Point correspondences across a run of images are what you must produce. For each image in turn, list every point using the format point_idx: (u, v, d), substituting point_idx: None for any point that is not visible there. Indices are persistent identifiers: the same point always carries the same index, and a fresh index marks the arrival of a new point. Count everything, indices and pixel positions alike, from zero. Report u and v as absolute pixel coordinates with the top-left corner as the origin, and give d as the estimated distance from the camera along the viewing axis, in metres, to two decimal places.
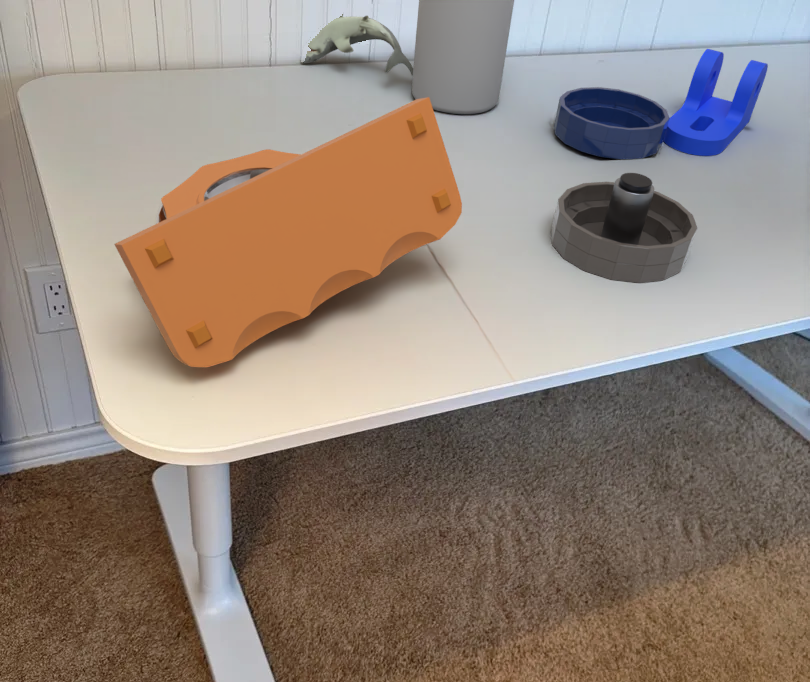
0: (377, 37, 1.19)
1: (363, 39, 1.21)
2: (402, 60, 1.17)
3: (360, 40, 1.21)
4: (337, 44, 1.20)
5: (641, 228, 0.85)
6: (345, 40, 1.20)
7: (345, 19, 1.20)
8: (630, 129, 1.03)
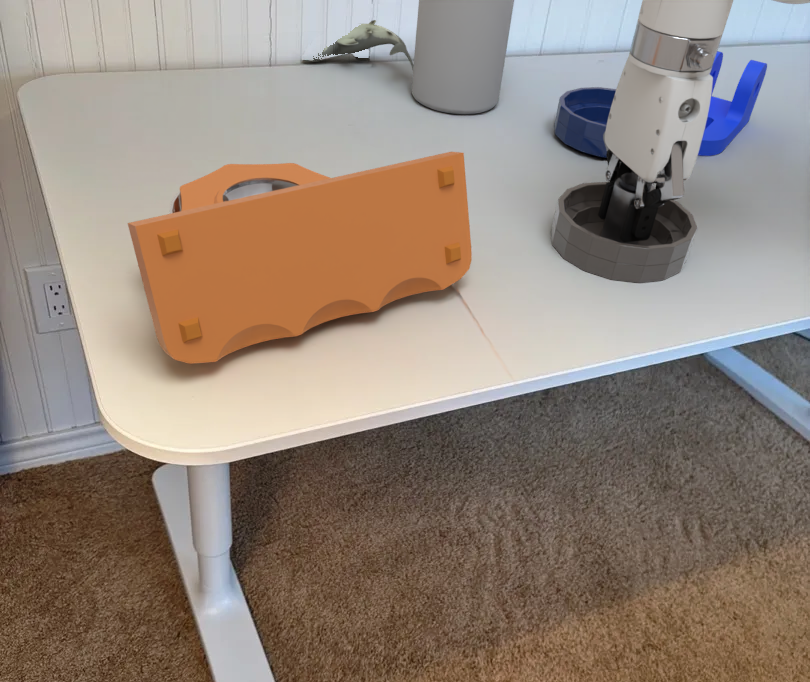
0: (381, 40, 1.22)
1: (367, 45, 1.23)
2: (407, 52, 1.18)
3: (363, 46, 1.23)
4: (341, 41, 1.22)
5: None
6: (350, 39, 1.22)
7: None
8: None
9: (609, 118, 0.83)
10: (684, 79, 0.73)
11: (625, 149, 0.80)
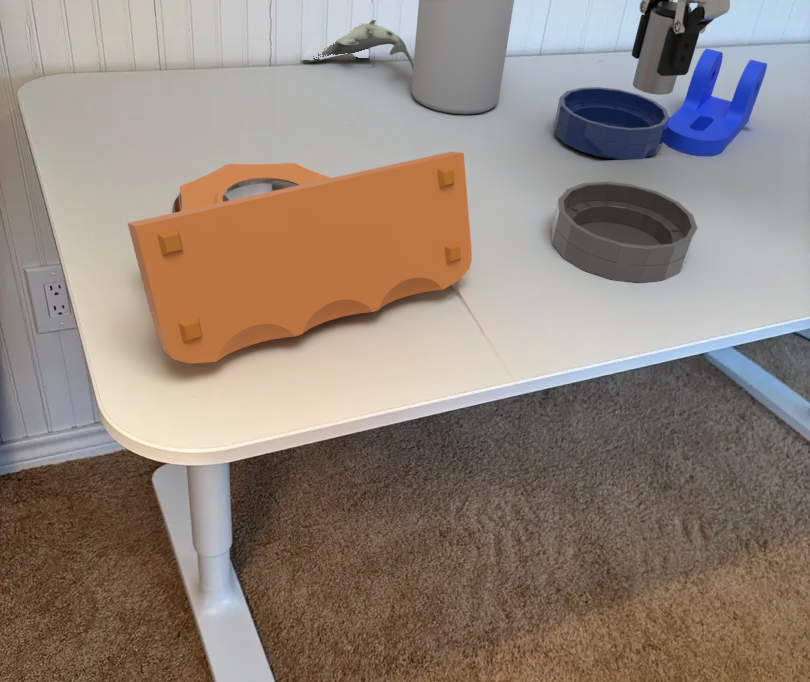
0: (381, 40, 1.22)
1: (367, 45, 1.23)
2: (407, 52, 1.18)
3: (363, 46, 1.23)
4: (341, 41, 1.22)
5: None
6: (350, 39, 1.22)
7: None
8: (630, 129, 1.03)
9: None
10: None
11: None
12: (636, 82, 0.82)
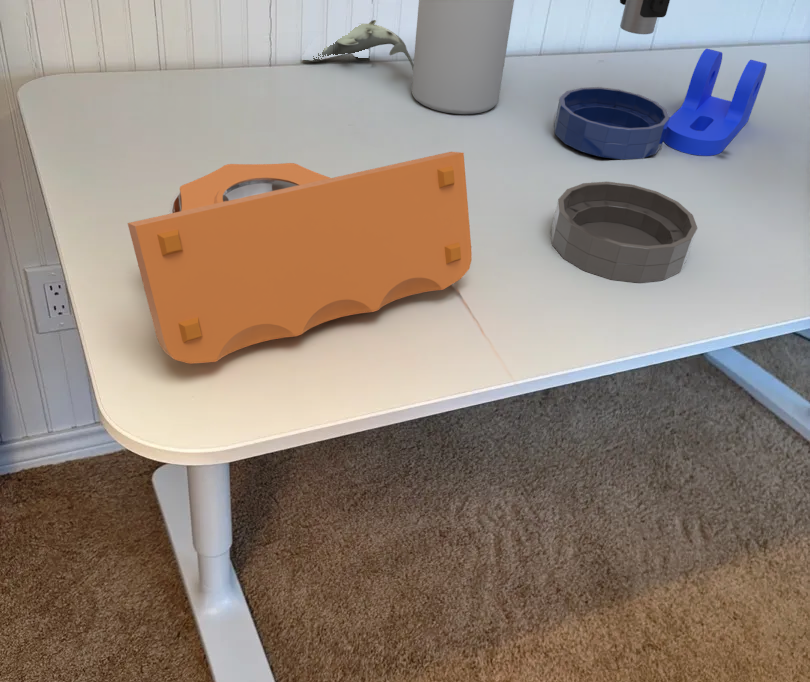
0: (381, 40, 1.22)
1: (367, 45, 1.23)
2: (407, 52, 1.18)
3: (363, 46, 1.23)
4: (341, 41, 1.22)
5: None
6: (350, 39, 1.22)
7: None
8: (630, 129, 1.03)
9: None
10: None
11: None
12: (623, 24, 0.98)
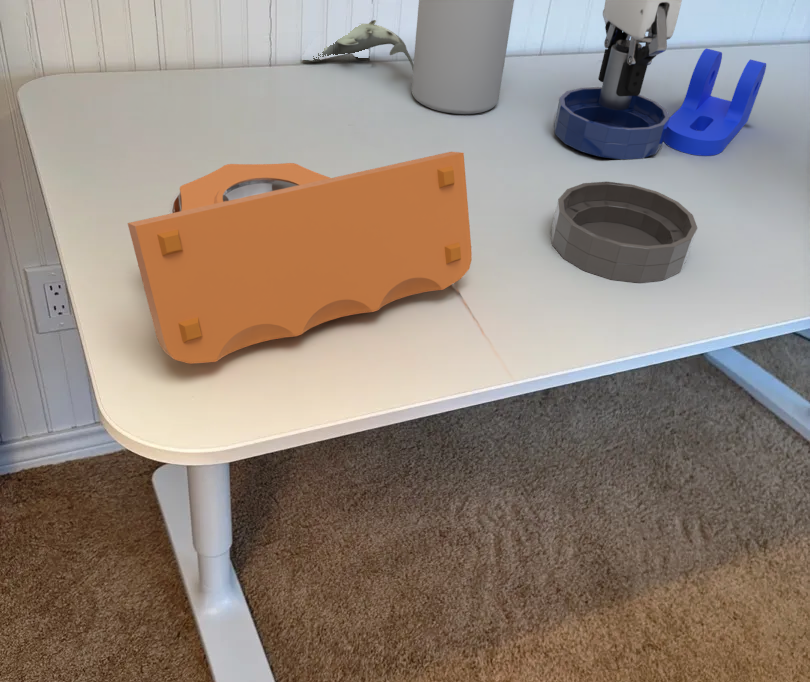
0: (381, 40, 1.22)
1: (367, 45, 1.23)
2: (407, 52, 1.18)
3: (363, 46, 1.23)
4: (341, 41, 1.22)
5: None
6: (350, 39, 1.22)
7: None
8: (630, 129, 1.03)
9: None
10: None
11: (620, 15, 1.00)
12: (601, 100, 1.07)
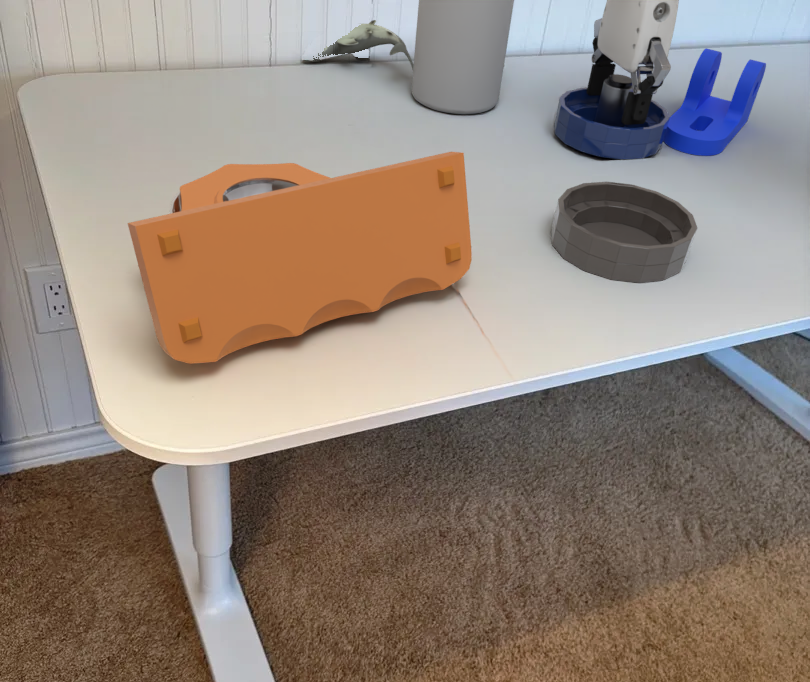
0: (381, 40, 1.22)
1: (367, 45, 1.23)
2: (407, 52, 1.18)
3: (363, 46, 1.23)
4: (341, 41, 1.22)
5: None
6: (350, 39, 1.22)
7: None
8: (630, 129, 1.03)
9: (601, 26, 1.05)
10: None
11: (613, 48, 1.03)
12: None
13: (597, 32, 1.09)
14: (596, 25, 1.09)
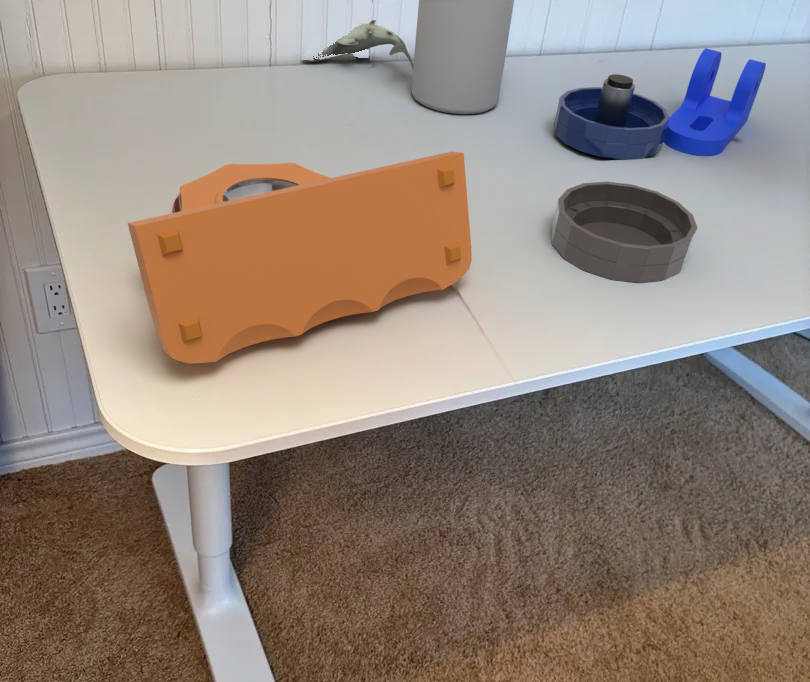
0: (381, 40, 1.22)
1: (367, 45, 1.23)
2: (407, 52, 1.18)
3: (363, 46, 1.23)
4: (341, 41, 1.22)
5: (625, 119, 1.08)
6: (350, 39, 1.22)
7: None
8: (630, 129, 1.03)
9: None
10: None
11: None
12: None
13: None
14: None
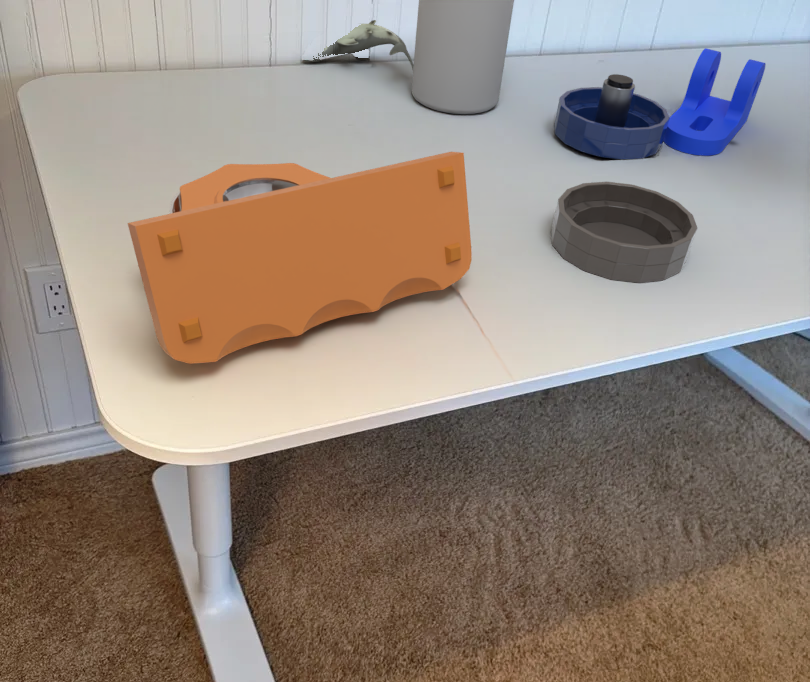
0: (381, 40, 1.22)
1: (367, 45, 1.23)
2: (407, 52, 1.18)
3: (363, 46, 1.23)
4: (341, 41, 1.22)
5: (625, 119, 1.08)
6: (350, 39, 1.22)
7: None
8: (630, 129, 1.03)
9: None
10: None
11: None
12: None
13: None
14: None
